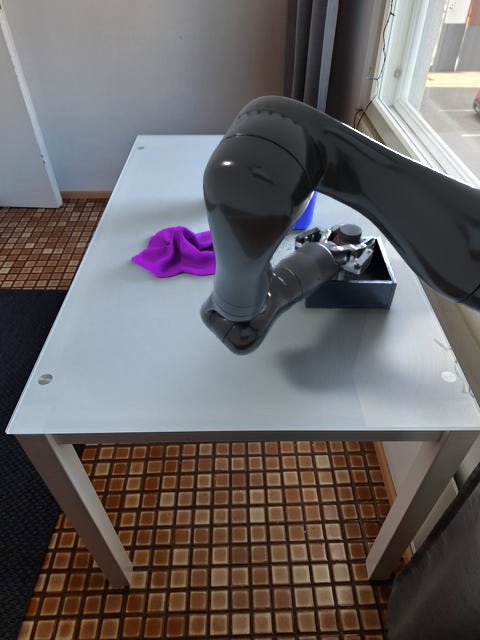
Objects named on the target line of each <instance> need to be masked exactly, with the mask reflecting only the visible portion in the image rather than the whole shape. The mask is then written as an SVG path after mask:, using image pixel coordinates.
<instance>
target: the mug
mask: <svg viewBox="0 0 480 640" xmlns="http://www.w3.org/2000/svg"><path fill="white" fill-rule="evenodd" d="M318 193H319V192H316V191H314V193H313V196H312V198H311V200H310V201H309V204H308V206H307V208H306V209H305V211H304V213H303V215H302V216H301V217H300V218H299V220H298V221H297V222H296V223H295V224H294V226H293V227H292V228H291V230H303V229H306V228H308V227H309V226H310V225H311V224H312V221H313V218H314V213H315V209H316V202H317V199H318Z"/></svg>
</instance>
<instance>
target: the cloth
mask: <svg viewBox="0 0 480 640" xmlns="http://www.w3.org/2000/svg"><path fill="white" fill-rule="evenodd" d="M130 261H132V262H134V263H135V264H137V265H139V266H141V267H142V268H144V269H146V270H147V271H148V272H149V273H151V274H153V275H154V276H155V277H156V278H169V277H174V276H177V275H178V274H181V273H183V272H184V273H188V274H192V275H195V276H207V275H208V276H209V275H215V254H214V249H213V244H212V238H211V233H210V230H205V231H201V232H197V233H195V232H194V231H192V230H191V229H189V228H188V227H186V226H182V225H177V226H169V227H166V228H162V229H161V230H159V231H157V232H156V233H155V234H153V235H151V236H150V237H149V239H148V243H147V248H145V249H144V250H142V251H140V252H139V253H137V254H136V255H134V256H132V257H131V258H130Z"/></svg>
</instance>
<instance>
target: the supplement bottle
mask: <svg viewBox="0 0 480 640" xmlns="http://www.w3.org/2000/svg"><path fill="white" fill-rule="evenodd" d="M362 234H363V228H362V227H361V226H359V225H357V224H353V223H344V224H343V225H342V226H341V227H340V231H339V234H338V235H336V236H335V237H334V239H333V243H335V244H336V245H339V246H344V245H349V244H352V245H353V246H354V245H359V244H360V243H361V242H363V241H364V240H363V238H362V237H363V235H362ZM357 252H358V251H356V252H355V254H357ZM346 254H347V252H346ZM352 274H353V272H350V271H347V270H344V271H342V272H338V273H336V274H335V276H334V277H333V278H332V279H331V280H358V278H354V277H353V276H352Z"/></svg>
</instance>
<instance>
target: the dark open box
mask: <svg viewBox="0 0 480 640" xmlns="http://www.w3.org/2000/svg"><path fill="white" fill-rule="evenodd" d="M312 237H313V236H312ZM368 237H369V236H362V238H363V240H365V239H367V238H368ZM373 237H374V240H375V243H374V248H373V249H372V251H373V253H372V258H371V262H370V264H369V266H368V267H367V268H366V269H365V270H364V272H363V273H362V274H361V275H360V277H358V280H330V281H328V282H327V283H326V284H325V285H323V286H322V287H321V288H319V289H318V290H317V291H315V292H314V293H313V294H311V295H310V296H309V297H307V298H306V299H304V300H303V301H304V307H305V308H306V309H338V310H339V309H340V310H341V309H343V310H344V309H345V310H348V309H350V310H391V308H392V305H393V302H394V301H393V300H394V296H395V292H396V289H397V285H398V282H397V279H396V276H395V273H394V271H393V268H392V266H391V263H390V260H389V258H388V255H387V251H386V249H385V246H384V244H383V241H382V238H381V236H373ZM319 241H320V240H319ZM319 241H318V242H319ZM332 242H333V241H332Z"/></svg>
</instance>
